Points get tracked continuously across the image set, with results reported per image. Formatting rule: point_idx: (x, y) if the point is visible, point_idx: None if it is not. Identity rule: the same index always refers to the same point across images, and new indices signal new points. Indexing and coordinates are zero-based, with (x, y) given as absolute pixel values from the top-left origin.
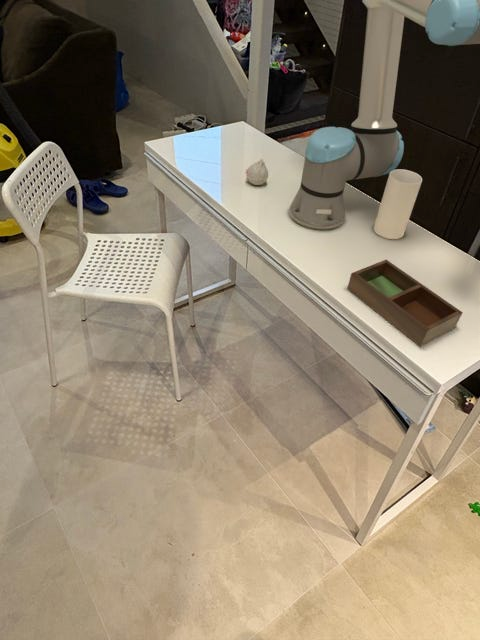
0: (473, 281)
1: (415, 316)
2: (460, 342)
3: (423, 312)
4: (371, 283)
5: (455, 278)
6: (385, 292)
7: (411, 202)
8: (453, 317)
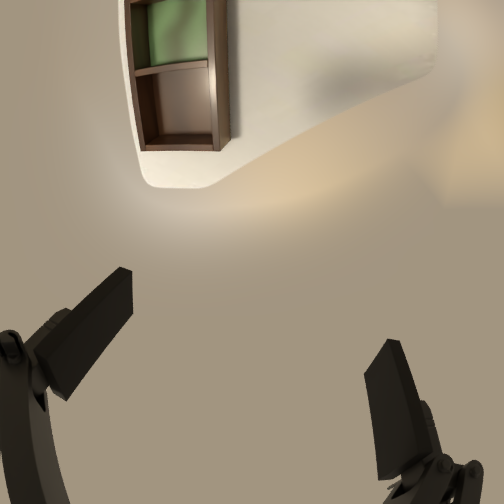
0: (382, 91)
1: (188, 94)
2: (214, 161)
3: (207, 93)
4: (180, 3)
5: (359, 63)
6: (185, 29)
7: None
8: (196, 150)
